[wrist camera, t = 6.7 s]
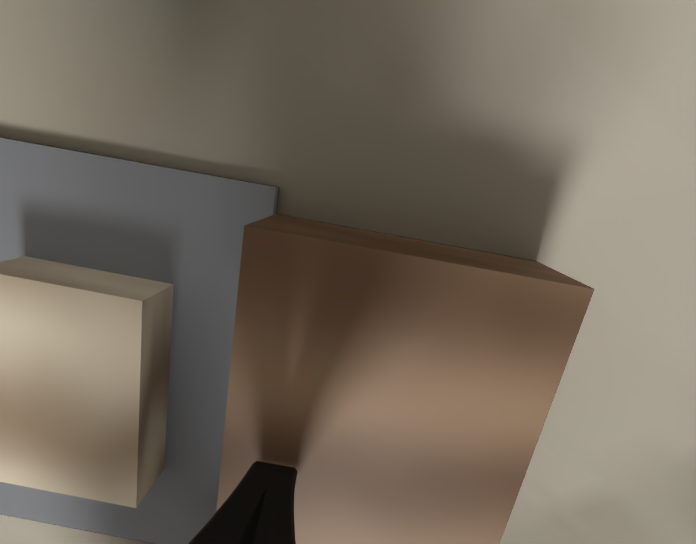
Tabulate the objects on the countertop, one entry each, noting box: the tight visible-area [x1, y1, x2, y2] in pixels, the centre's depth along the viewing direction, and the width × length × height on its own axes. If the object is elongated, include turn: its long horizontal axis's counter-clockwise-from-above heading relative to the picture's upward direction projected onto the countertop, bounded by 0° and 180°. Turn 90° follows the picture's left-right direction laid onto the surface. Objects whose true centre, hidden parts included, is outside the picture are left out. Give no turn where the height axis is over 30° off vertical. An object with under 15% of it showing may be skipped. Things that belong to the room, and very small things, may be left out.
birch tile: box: [0, 256, 174, 508], centre depth 14 cm, size 9×6×2 cm, turn 170°
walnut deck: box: [216, 214, 594, 544], centre depth 14 cm, size 16×10×4 cm, turn 170°
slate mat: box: [0, 137, 279, 544], centre depth 15 cm, size 18×12×1 cm, turn 170°
